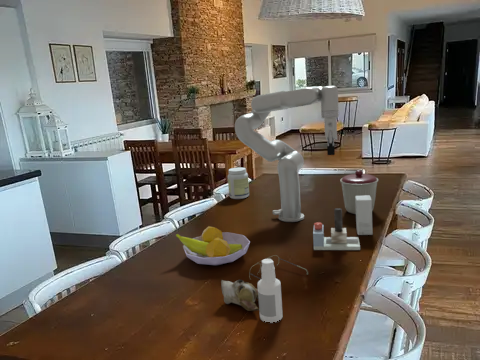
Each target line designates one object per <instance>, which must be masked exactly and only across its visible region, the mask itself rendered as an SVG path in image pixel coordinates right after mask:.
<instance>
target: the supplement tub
mask: <svg viewBox="0 0 480 360" xmlns="http://www.w3.org/2000/svg"><path fill="white" fill-rule="evenodd" d="M227 173H228V174H227V184H228V195H229V197H230V198H231V199H233V200H241V199H245V198H247V197H249V196H250V187H249V184H250V183H249V174H248V172H247V168H246V167H231V168H229V169H228V172H227Z"/></svg>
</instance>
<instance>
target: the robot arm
mask: <svg viewBox="0 0 480 360" xmlns="http://www.w3.org/2000/svg"><path fill="white" fill-rule="evenodd" d="M319 103H320V114H321V115H320V118H321V119H323V122H324V123H323V125H324V137H325V140H326V141H327V146H326V148H327V149H326V152H327V153H326V154H327V156H334V155H335V154H336V153H335V150H336V148H335V142H334V141H337V139H338V129H337V128H338V127H337V126H338V125H337V118H339V89H338V87H337V86H336V85H326V86H325V85H324V86H307V87H304V88H298V89H293V90H292V89H291V90H287V91H285V90H281V91H275V92H270V93H265V94H259V95H256V96H254V97H253V98H252V99H251V103H250V106H251V111H250V112H249V113H245V114H241V115H240V116H239V117H238V118H237V119H236V120H235V123H234V131H235V135H236V136H237V138H238V140H239V141H240V142H241V143H243V144H244V146H246V147H248V148H250V149H251V150H253V152H255V153H256V154H258V155H259V156H260V157H262V158H263V159H264V160H265V161H267V162H271V163H273V162H275V161H278V162H277V167H276V168H277V173H278V179H279V190H280V191H279V194H280V209H274V210H272V215H274V216H278V220H279V221H281V222H285V223H295V222H300V221H303V220H304V219H305V215H304V213H302V206H301V188H300V187H301V186H300V178H299V173H298V171H300V169H302V168H303V166H304V164H305V163H304V162H305V159H304V157H303V155H302V154H301V153H300V152H299V151H297V150H296V149H294V148H293V147H292V146H290V145H289V144H288V143H286V142H284V141H283V140H281V139H273V140H270V139H268V138H267V137H265V136H264V135H262V133H259V132H257V131H255V130H257V129H259V128H260V127H261V126H262V124H263V123H264V122H265V120H266V119H267V118H268V116H269V115H270V113H271V112H276V111H282V110H288V109H293V108H299V107H305V106H311V105H313V104H319Z"/></svg>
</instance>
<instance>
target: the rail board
mask: <svg viewBox="0 0 480 360" xmlns="http://www.w3.org/2000/svg"><path fill="white" fill-rule="evenodd" d="M324 230H325V228H324V224H322V229H320V230H316V229H314V228H313V231H312V238H313V243H312V244H313V251H361V245H360V244H361V243H360V239H359V236H347V243H331V236H325V231H324Z"/></svg>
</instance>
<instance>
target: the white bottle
mask: <svg viewBox="0 0 480 360" xmlns="http://www.w3.org/2000/svg"><path fill="white" fill-rule="evenodd" d="M275 269H276V268H275V264H274V260H273V259H272V258H268V259H266V258H264V259H262V260H261V268H260V273H261V279H259V280H258V281H257V283H256V284H257V289H258V299H257V301H258V309H259V310H258V311H259V319H260V320H261V321H262V322H264V321H265V322H264V323H266V322H270V323H269V324H274V323H273V322H275V323H278V322H280V321H281V320H282V319H283V300H282V285H281V280H280V279H278V278H276V270H275ZM279 320H280V321H279ZM277 321H278V322H277Z"/></svg>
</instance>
